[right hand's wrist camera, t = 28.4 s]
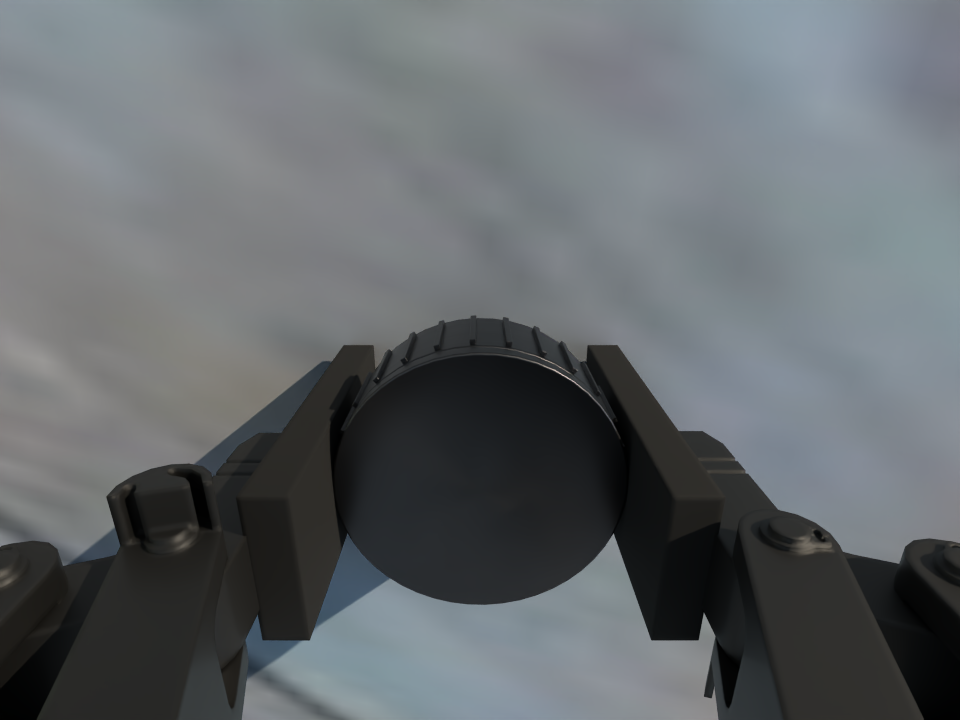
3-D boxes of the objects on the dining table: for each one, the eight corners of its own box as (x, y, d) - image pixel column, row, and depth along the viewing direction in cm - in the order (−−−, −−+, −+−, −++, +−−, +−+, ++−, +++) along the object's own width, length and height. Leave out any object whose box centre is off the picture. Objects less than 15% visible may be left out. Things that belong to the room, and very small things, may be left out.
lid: (324, 499, 13) (296, 562, 11) (396, 274, 11) (378, 301, 9) (547, 566, 13) (559, 638, 11) (652, 366, 11) (687, 410, 10)
